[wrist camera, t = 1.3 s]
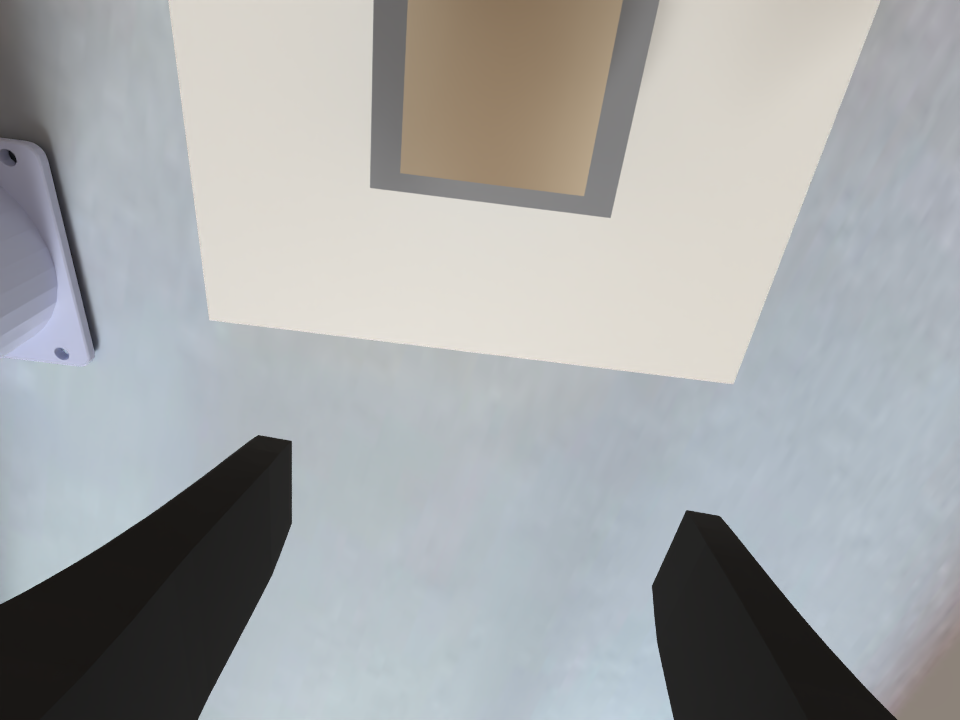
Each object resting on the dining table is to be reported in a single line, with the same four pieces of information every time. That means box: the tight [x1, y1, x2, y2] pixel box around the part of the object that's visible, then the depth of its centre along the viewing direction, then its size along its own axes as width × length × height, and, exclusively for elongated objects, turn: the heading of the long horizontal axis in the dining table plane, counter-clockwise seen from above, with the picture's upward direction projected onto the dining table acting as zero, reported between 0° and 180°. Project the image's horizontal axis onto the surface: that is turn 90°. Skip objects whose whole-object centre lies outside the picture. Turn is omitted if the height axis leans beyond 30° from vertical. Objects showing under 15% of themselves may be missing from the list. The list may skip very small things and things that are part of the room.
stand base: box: [168, 0, 881, 384], centre depth 15 cm, size 18×18×5 cm
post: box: [400, 0, 623, 196], centre depth 13 cm, size 3×3×7 cm
